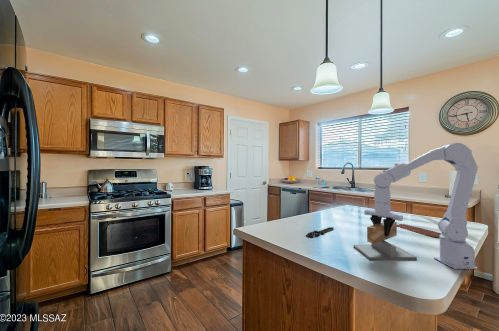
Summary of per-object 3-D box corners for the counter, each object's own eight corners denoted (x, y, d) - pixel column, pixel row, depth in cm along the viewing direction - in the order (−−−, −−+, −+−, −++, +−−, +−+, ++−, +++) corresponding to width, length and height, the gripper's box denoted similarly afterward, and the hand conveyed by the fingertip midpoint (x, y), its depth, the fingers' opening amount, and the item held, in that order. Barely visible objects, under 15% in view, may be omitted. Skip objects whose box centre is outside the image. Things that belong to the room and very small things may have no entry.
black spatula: (331, 228, 135) (331, 225, 135) (341, 230, 129) (341, 228, 129) (302, 236, 120) (302, 233, 120) (312, 239, 114) (312, 236, 114)
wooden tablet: (452, 238, 115) (452, 234, 115) (437, 239, 112) (437, 236, 112) (404, 224, 141) (404, 222, 141) (390, 226, 138) (390, 223, 138)
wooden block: (396, 235, 99) (396, 221, 99) (374, 243, 89) (374, 228, 89) (389, 234, 101) (389, 220, 101) (367, 241, 91) (367, 226, 91)
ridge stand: (416, 259, 88) (416, 246, 88) (369, 259, 88) (369, 246, 88) (394, 246, 102) (393, 235, 102) (353, 247, 102) (353, 235, 102)
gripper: (406, 203, 91) (406, 237, 91) (370, 199, 103) (370, 229, 103) (397, 205, 87) (398, 241, 87) (361, 200, 99) (361, 231, 99)
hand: (382, 234), depth 95 cm, fingers closed on wooden block, 3 cm apart
